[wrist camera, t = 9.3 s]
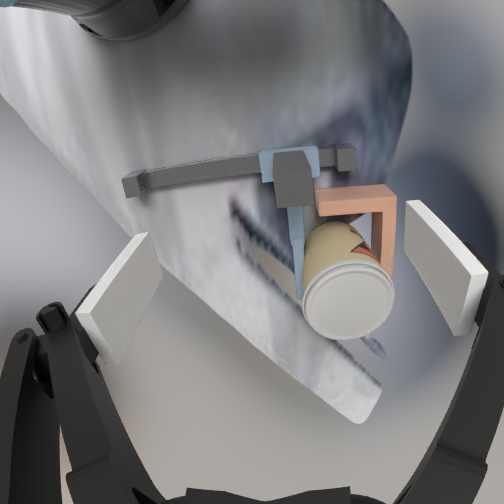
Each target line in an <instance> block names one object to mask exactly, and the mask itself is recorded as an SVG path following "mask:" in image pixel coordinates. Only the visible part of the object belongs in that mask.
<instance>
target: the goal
mask: <svg viewBox="0 0 504 504" xmlns="http://www.w3.org/2000/svg"><path fill="white" fill-rule="evenodd" d="M314 195H315V203H316V207H317V210H318V213H319V216H331V215H343V214H356V213H369V212H372V235H371V251H372V252H373V254H374V255H375V257H376V258H377V260H378V261H379V263H380V265H381V266H382V268H383V269H384V270H385V271H386V272H387V274H388V275H389V277H390V278H392V268H393V257H394V245H395V230H396V208H397V196H396V195H395V194H394V193H393V192H392V191H391V190H390V189H389V188H388V187H387V186H386V185H385V184H380V185H363V186H348V187H335V188H322V189H314Z"/></svg>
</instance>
